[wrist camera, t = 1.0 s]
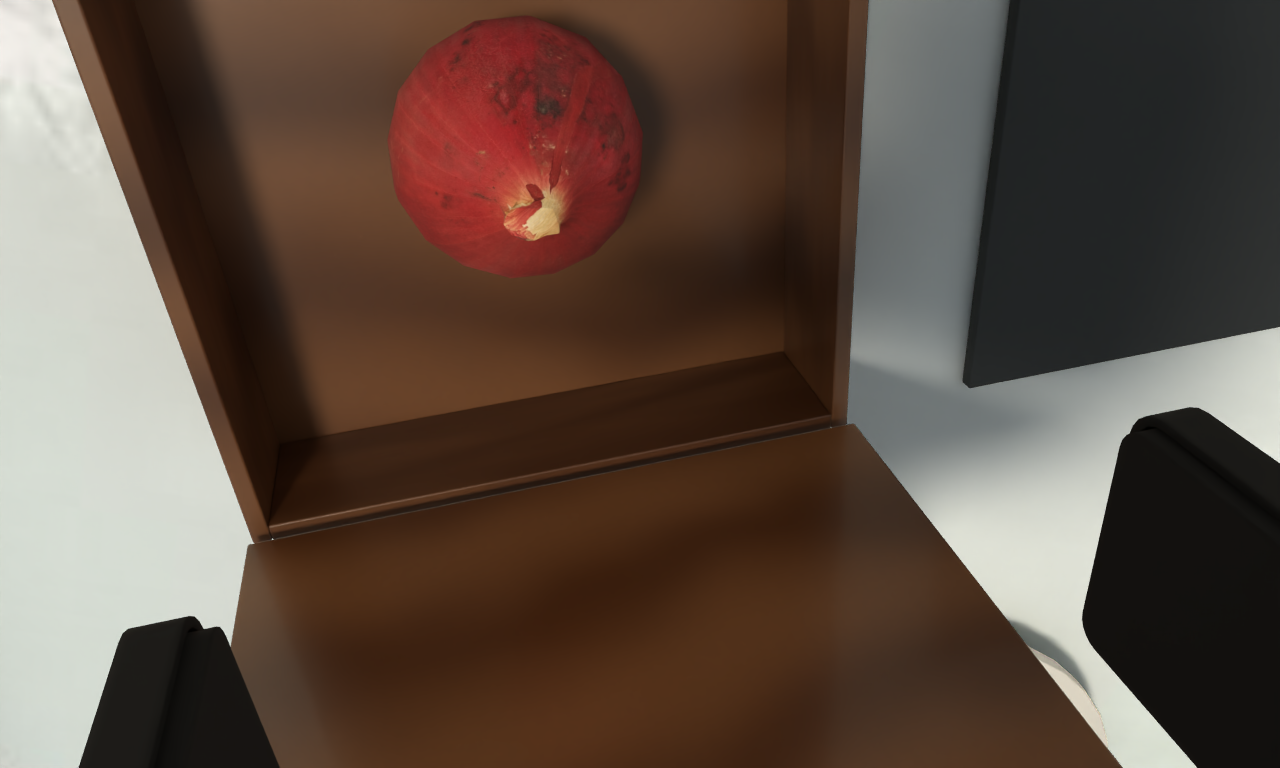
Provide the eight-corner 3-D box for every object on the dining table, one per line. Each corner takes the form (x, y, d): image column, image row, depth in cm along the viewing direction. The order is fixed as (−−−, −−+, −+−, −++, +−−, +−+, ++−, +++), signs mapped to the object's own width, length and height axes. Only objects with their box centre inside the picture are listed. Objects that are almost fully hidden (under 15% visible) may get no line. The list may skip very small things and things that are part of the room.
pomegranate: (421, -43, 23) (440, 16, 17) (637, 36, 25) (732, 118, 19) (363, 180, 26) (360, 312, 19) (566, 236, 28) (627, 372, 21)
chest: (12, -308, 19) (-75, -337, 16) (802, -357, 22) (890, -390, 18) (268, 451, 29) (253, 544, 26) (792, 353, 32) (847, 425, 28)
